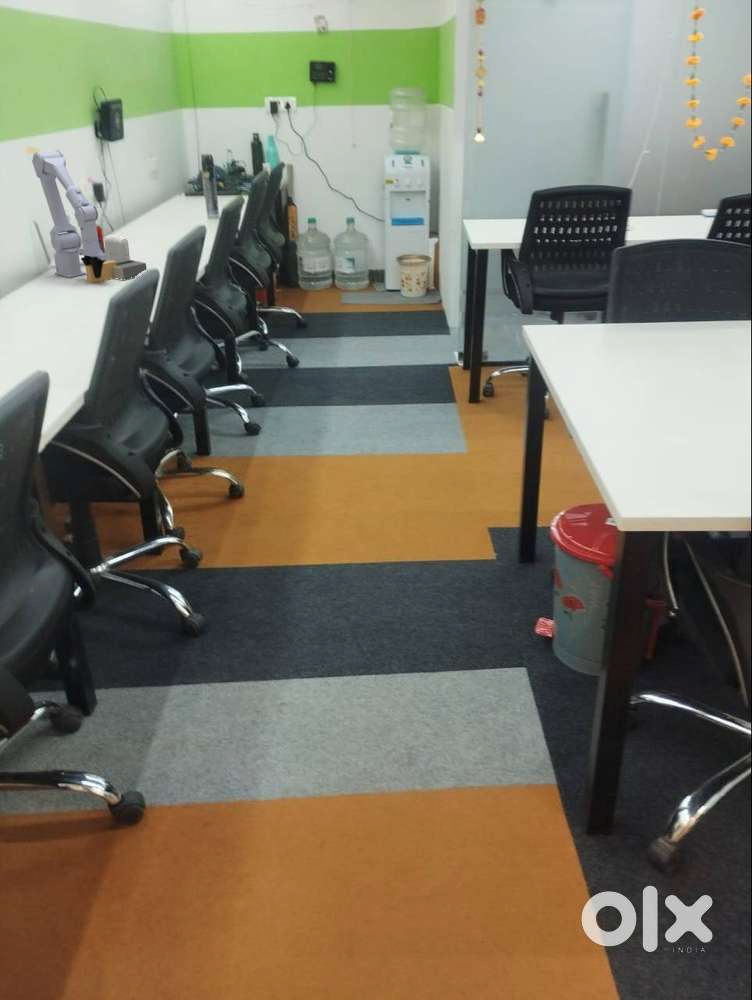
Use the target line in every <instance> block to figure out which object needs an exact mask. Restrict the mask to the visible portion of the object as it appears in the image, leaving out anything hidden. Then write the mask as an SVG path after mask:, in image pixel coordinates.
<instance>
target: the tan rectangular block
mask: <svg viewBox="0 0 752 1000" xmlns="http://www.w3.org/2000/svg"><path fill="white" fill-rule="evenodd" d="M84 266H85V265H84ZM113 266H117V263H116V261H113V260H111V261H107V260H106V262H104V263H103V266H102V272H101V277H100V278H95V276H94V272H93V268H92V265H87V266H85V272H86V274H85V275H86V279H87V283H89V284H94V283H98V281H100V282H103V281H102V280H104V281H107V280H106V279H108V280H111V279H110V278H113V279H115V278H114V271H113Z"/></svg>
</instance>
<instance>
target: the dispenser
mask: <svg viewBox="0 0 752 1000" xmlns="http://www.w3.org/2000/svg"><path fill="white" fill-rule="evenodd" d="M113 261H116V263H117V266H113V271H114V278H113V279H115V278H118V279H122V280H123V281H125V280H124V279H128V280H130V279H129V278H131V277H132V279H135V278H134V277H135V276H137V275H138V274H139V273H141V272H142V271H144V270H146V269H147V263H146V262H141V261H137V260H133V259H130V260H129V259H125V258H123V259H118V260H113ZM147 270H148V269H147ZM118 279H117V280H118ZM122 280H121V281H122Z"/></svg>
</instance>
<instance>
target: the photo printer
mask: <svg viewBox="0 0 752 1000" xmlns="http://www.w3.org/2000/svg"><path fill="white" fill-rule="evenodd" d="M104 246H105V253H106V256H107V260H106V262H107V261H111V260H118V259H123V258H125V259H129V260H131V256H130V249H129V248H130V247H129V241H128V240H127V238H125V237H123V236H121V235H118V234H110V235H106V236H105V237H104Z"/></svg>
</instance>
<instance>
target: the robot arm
mask: <svg viewBox="0 0 752 1000" xmlns="http://www.w3.org/2000/svg"><path fill="white" fill-rule="evenodd" d="M31 160H32V161H31V162H32V164H33V168H34V172H35V174H36V175H35V176H36V177H37V178H38V179H39V180H40V184H41V187H42V191H43V193H44V196H45V200H46V202H47V206H48V209H49V212H50V215H51V218H52V222H53V224H54V225H53V227H52V228H51V230H50V232H49V236H50V244H51V246H52V248H53V249H54V251H55V252H54V254H53V259H54V264H55V270H56V272H54V275H58V276H62V277H65V278H73V277H77V276H83V275H87V274H86V271H82V269H81V262H80V261H82V263H83V264H84V266H87V265H92V268H93V272H94V276H95V278H100V277H101V272H102V266H103V263H104V261H105V260H106V261H107V256H106V254H104V253H102V250H100V249H99V242H98V234H97V228H96V224H97V222H96V221H97V220H98V219H99V212H98V209H97V207H96V205H94V204H93V203H91V201H88V200H87V198H86V196H85V194H84V193H83V191H82V190H81V188H80V187H78V186H76V185H75V184H74V182H73V180H72V178H71V176H70V174H69V171H68V170H67V168H66V159H65V157H64V154H63V153H62V152H61V151H60V150H51V151H39V152H38V151H35V152H34V153H33V156H32V159H31ZM56 179H57V181H59V183H60V185H62V187H63V188H64V190H65V191H66V192H65V197H66V198H67V200H68V202H69V204H70V205H71V206H72V208H73V210H74V218H75V220H76V221H77V226H78V228H80V229H79V231H80V234H79V232H78V230H77V227H76V226H74V225H73V224H71V223H69V220H68V217H67V213H66V209H65V208H64V207H65V206H64V203H63V201H62V197H61V193H60V192H59V191H60V190H59V188H58V185H57V181H56ZM81 247H82V248H81ZM80 256H83V257H81V260H80Z"/></svg>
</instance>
